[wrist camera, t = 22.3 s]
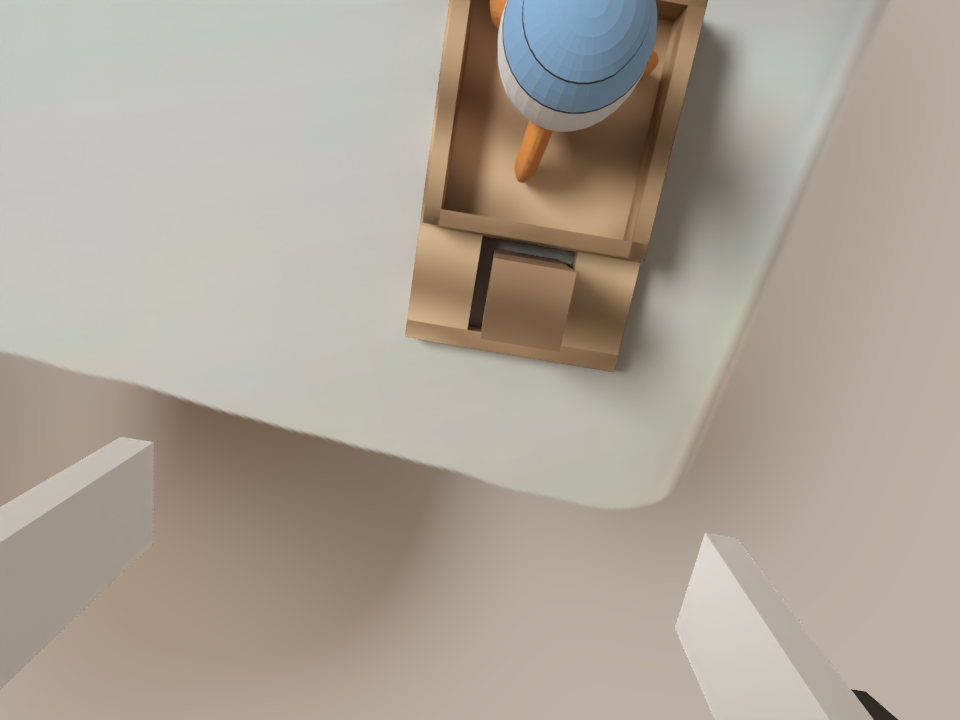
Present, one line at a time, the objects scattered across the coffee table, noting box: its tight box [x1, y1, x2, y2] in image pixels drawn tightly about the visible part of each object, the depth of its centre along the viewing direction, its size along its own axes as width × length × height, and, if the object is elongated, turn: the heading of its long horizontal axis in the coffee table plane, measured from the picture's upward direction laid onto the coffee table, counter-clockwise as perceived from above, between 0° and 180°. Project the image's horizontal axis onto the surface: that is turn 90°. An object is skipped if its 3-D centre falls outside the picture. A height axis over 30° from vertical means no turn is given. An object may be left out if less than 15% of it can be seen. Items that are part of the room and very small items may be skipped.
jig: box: [405, 0, 708, 372], centre depth 34 cm, size 23×15×4 cm, turn 171°
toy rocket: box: [490, 0, 658, 183], centre depth 27 cm, size 10×11×15 cm
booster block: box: [480, 249, 577, 352], centre depth 33 cm, size 4×4×9 cm
